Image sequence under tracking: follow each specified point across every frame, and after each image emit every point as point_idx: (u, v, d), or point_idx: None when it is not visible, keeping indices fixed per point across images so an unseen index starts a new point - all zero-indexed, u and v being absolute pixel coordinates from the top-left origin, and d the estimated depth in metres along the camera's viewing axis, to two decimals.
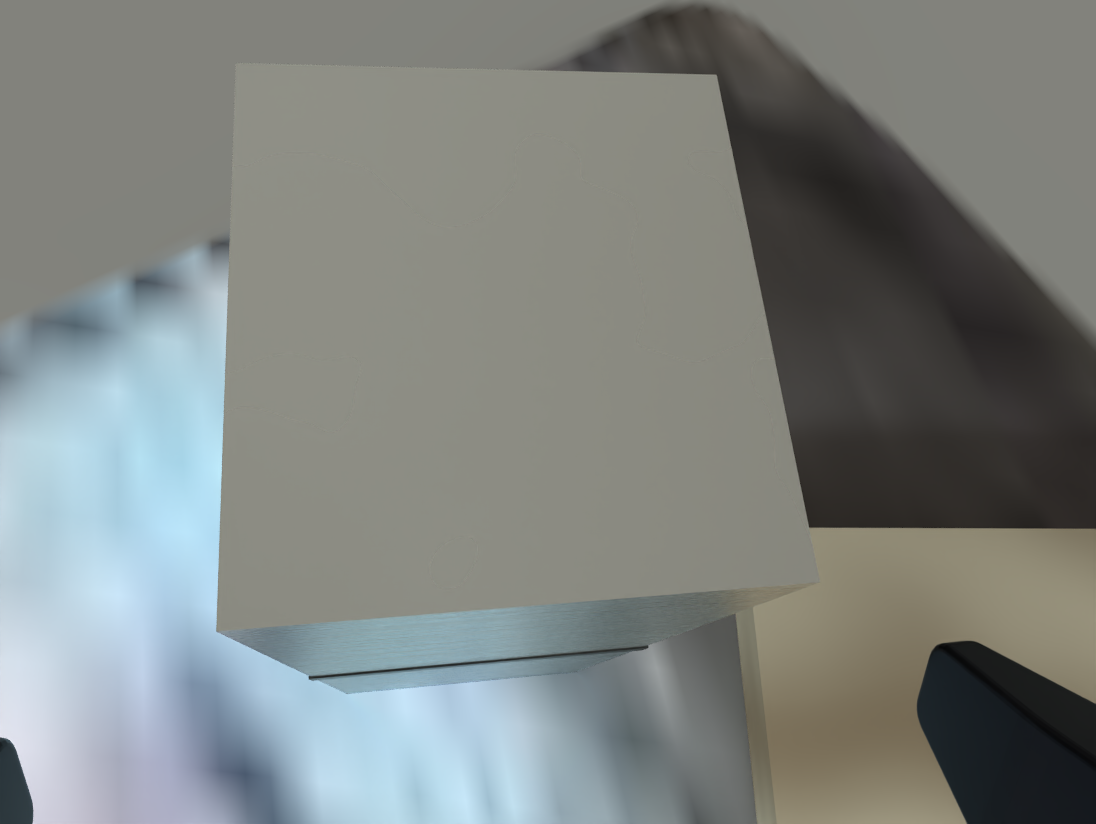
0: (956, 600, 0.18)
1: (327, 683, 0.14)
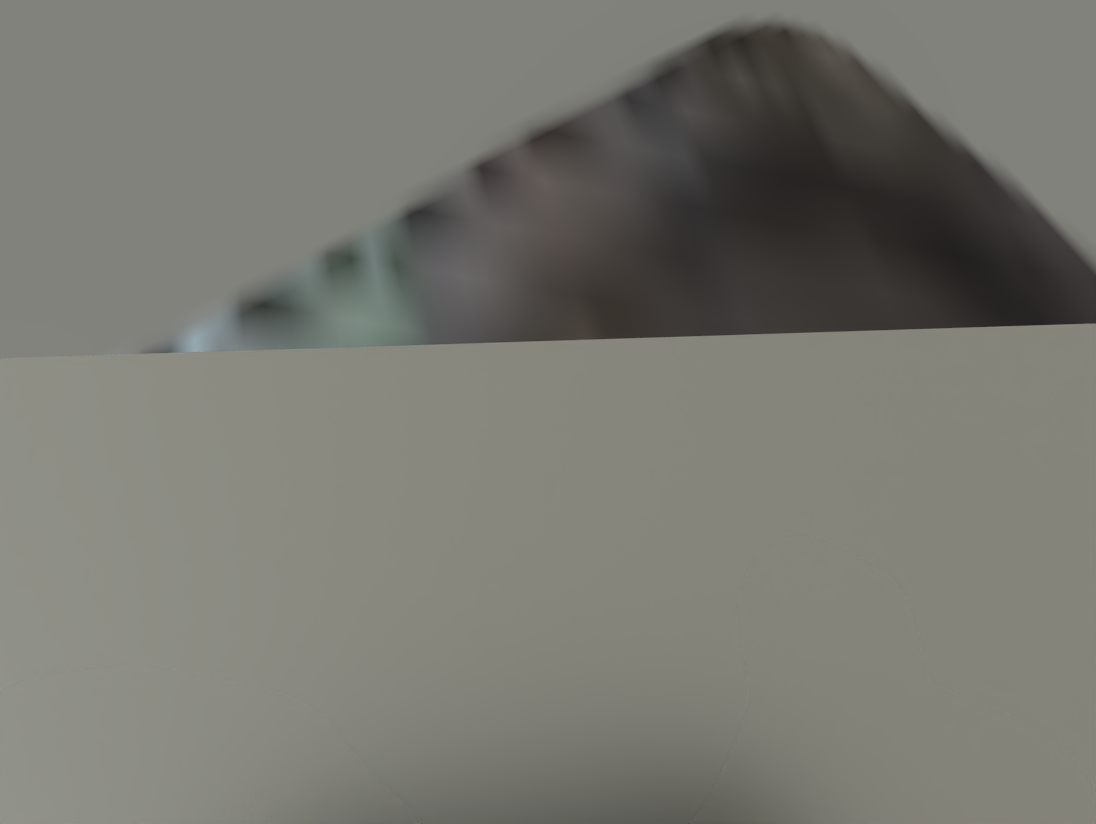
0: None
1: None
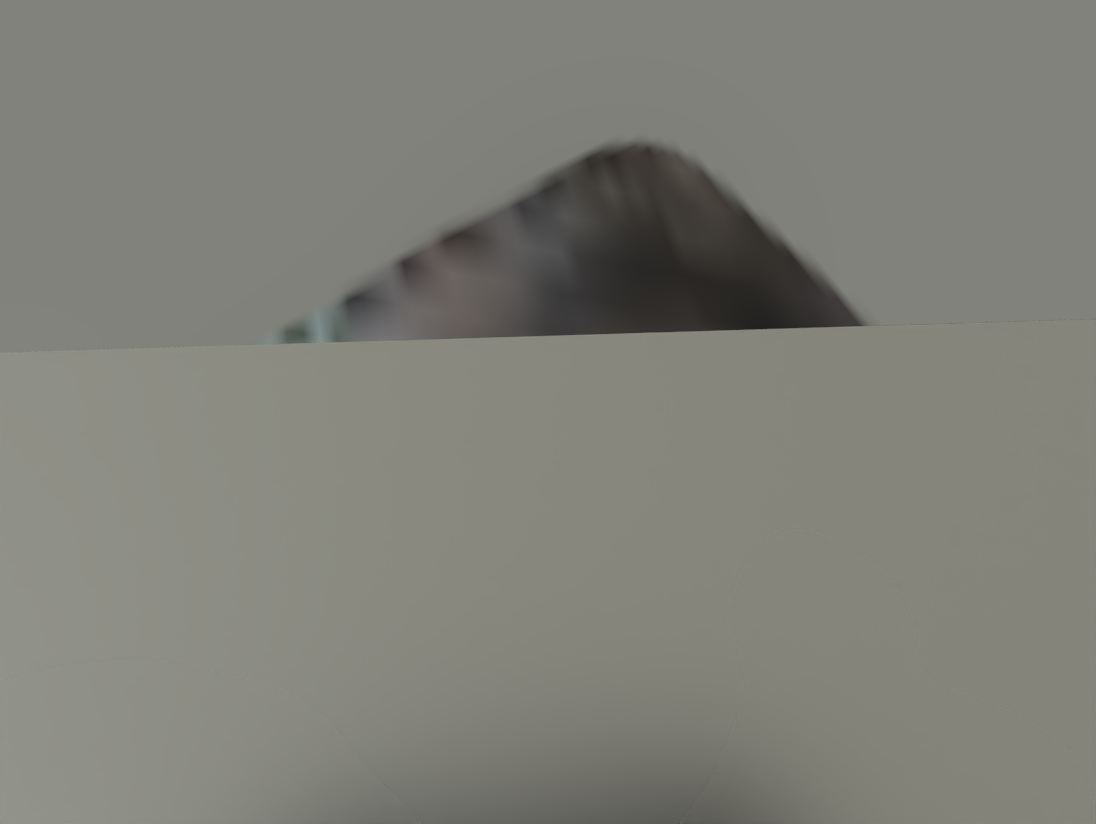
0: None
1: None
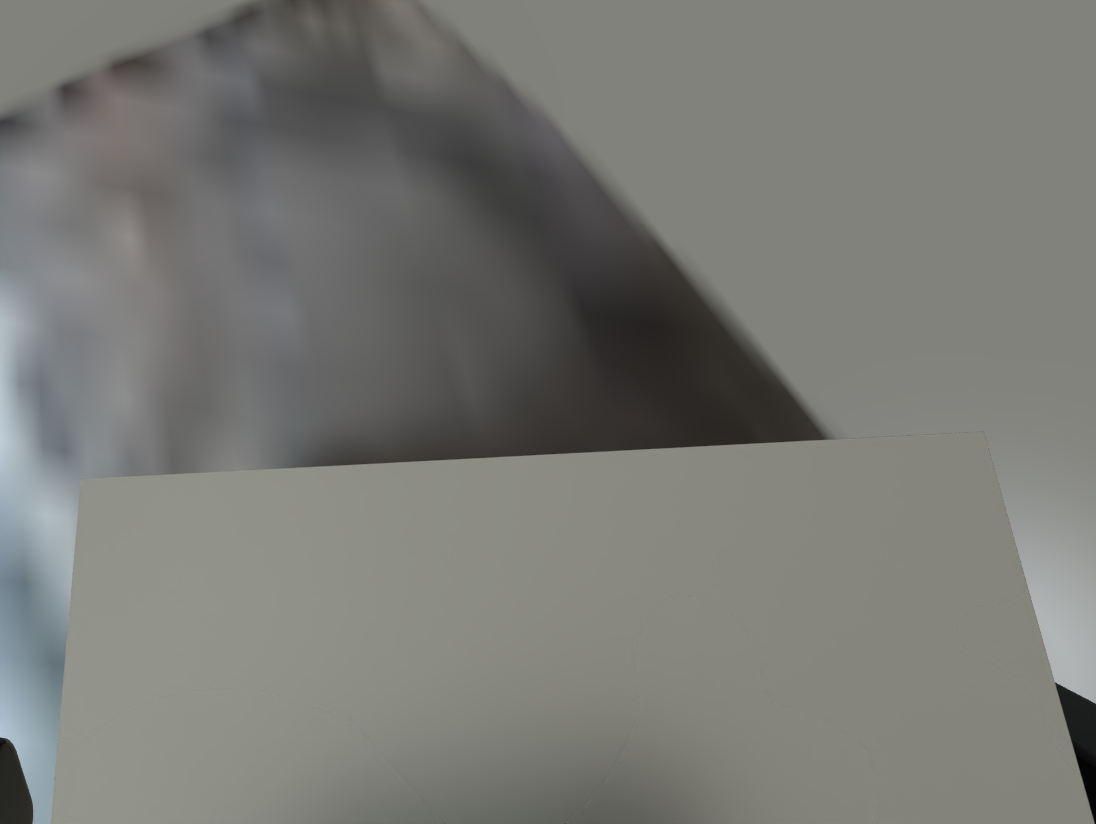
0: None
1: None
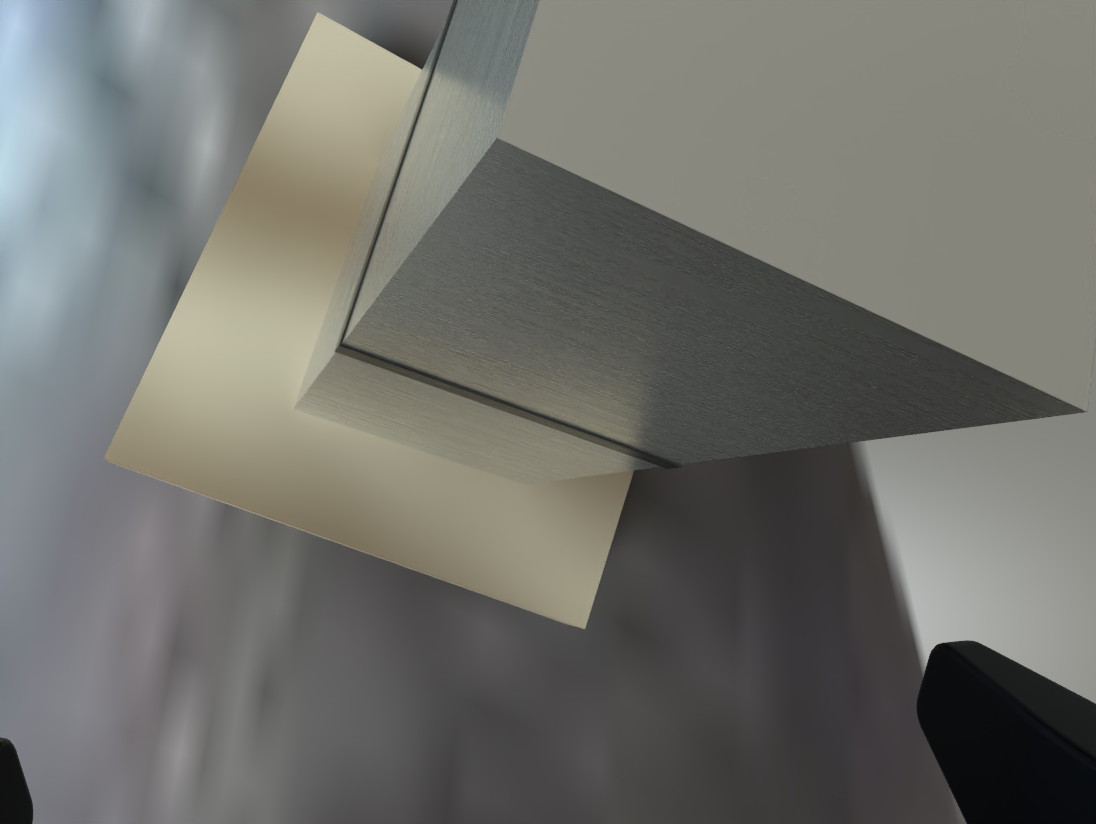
0: None
1: (324, 371, 0.12)
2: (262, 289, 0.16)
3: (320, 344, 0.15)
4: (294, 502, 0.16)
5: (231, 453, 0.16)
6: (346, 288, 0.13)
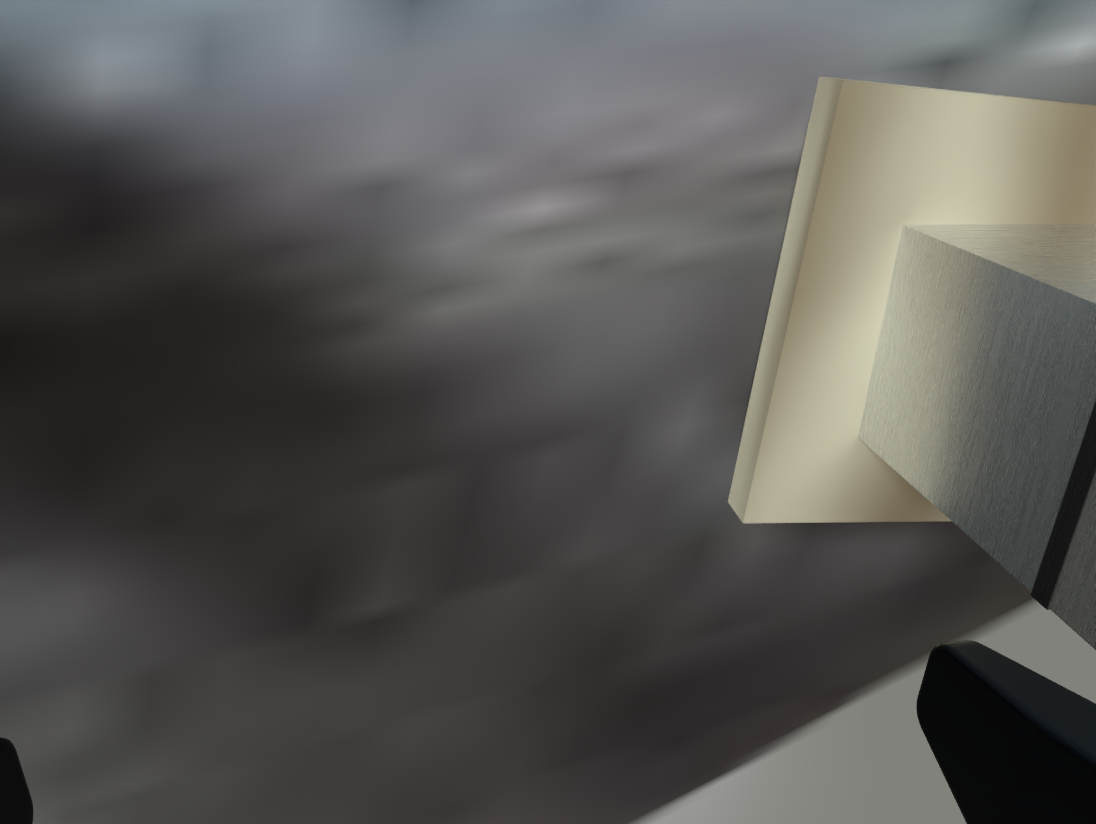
0: None
1: (1050, 287, 0.14)
2: (1005, 162, 0.18)
3: (999, 245, 0.16)
4: (822, 253, 0.18)
5: (858, 186, 0.17)
6: None
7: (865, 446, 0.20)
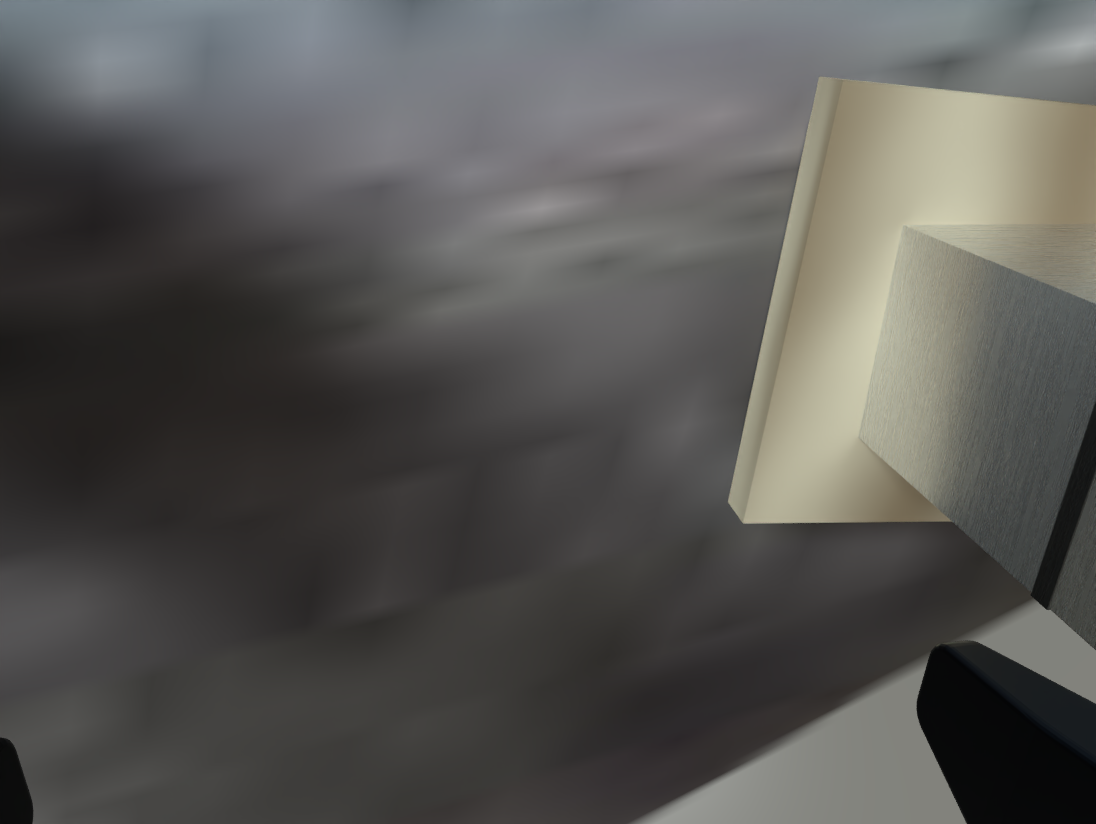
0: None
1: (1050, 287, 0.14)
2: (1006, 163, 0.18)
3: (999, 245, 0.16)
4: (822, 253, 0.18)
5: (859, 186, 0.17)
6: None
7: (865, 446, 0.20)
